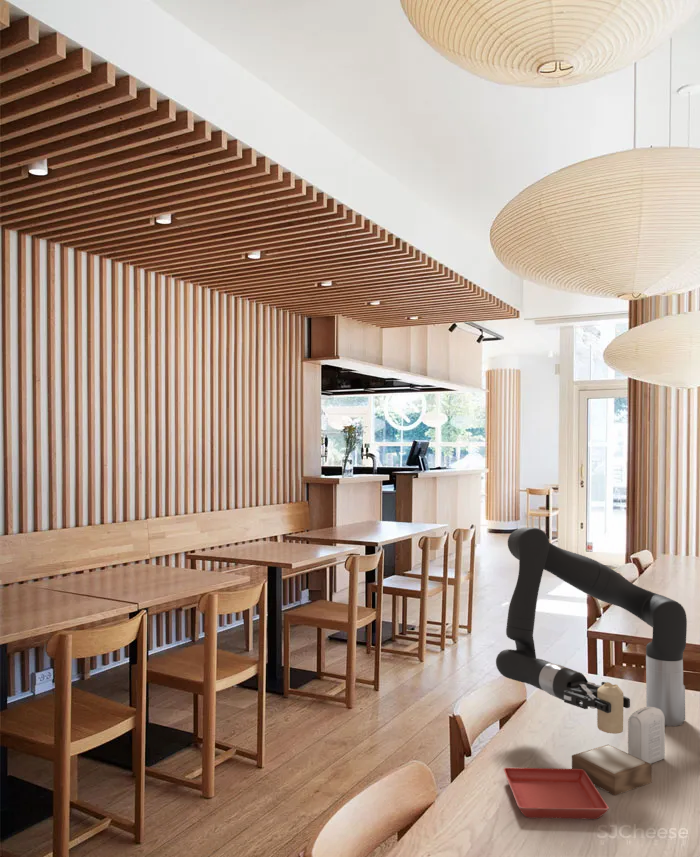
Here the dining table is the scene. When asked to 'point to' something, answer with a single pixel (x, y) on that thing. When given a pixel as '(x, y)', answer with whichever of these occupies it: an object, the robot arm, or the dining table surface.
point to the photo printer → (647, 734)
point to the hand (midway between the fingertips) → (619, 705)
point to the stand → (613, 769)
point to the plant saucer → (555, 793)
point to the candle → (615, 718)
